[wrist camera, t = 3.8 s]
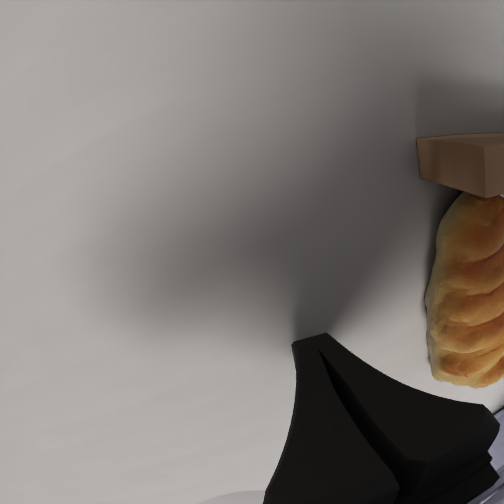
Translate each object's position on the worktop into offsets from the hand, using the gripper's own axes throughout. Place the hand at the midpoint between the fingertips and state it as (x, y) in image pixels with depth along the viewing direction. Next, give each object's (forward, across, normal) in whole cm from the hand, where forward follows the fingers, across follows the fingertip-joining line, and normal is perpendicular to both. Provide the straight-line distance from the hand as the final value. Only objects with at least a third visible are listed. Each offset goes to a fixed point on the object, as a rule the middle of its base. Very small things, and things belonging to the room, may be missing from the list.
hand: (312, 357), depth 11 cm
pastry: (+2, -8, 0) cm, 9 cm away
